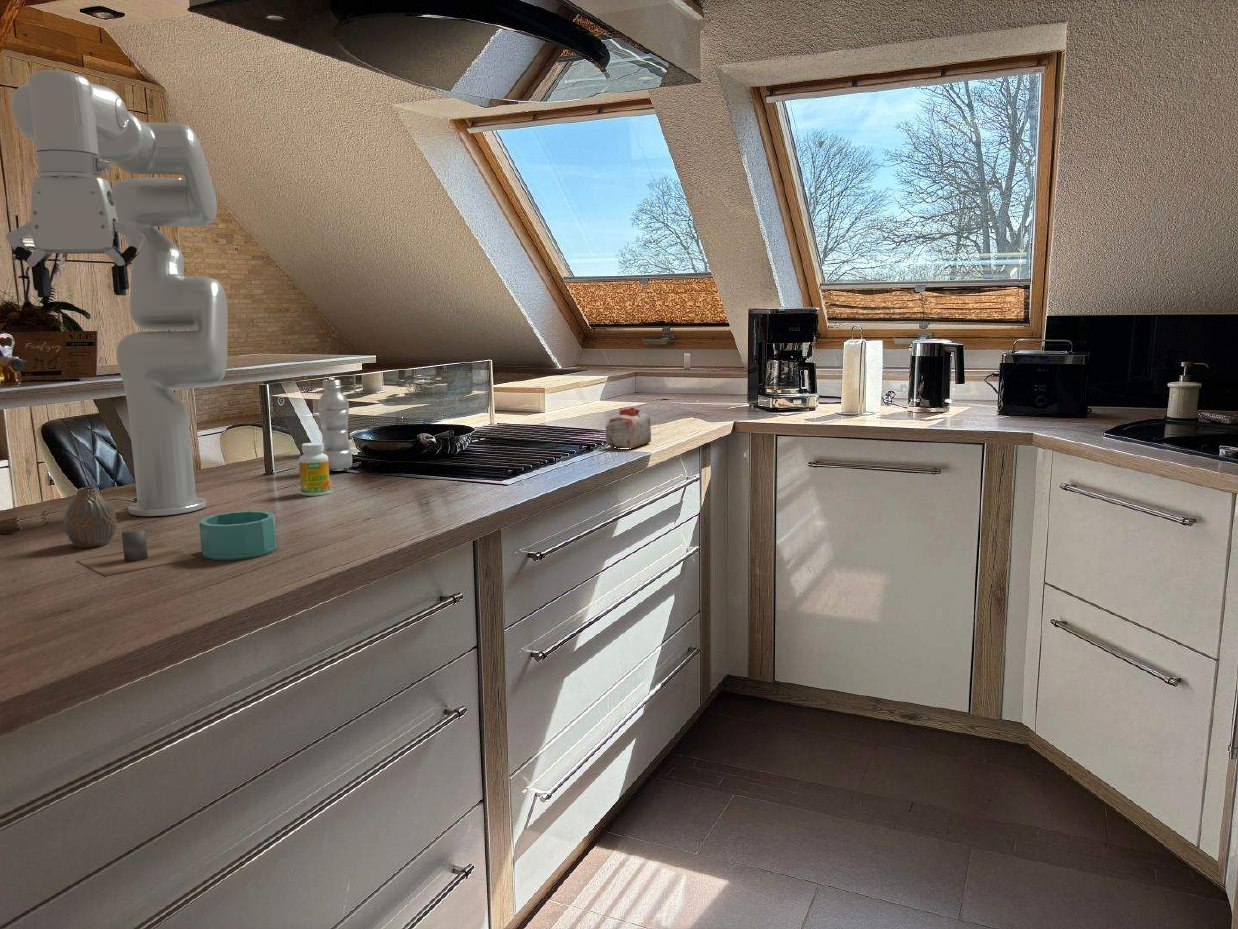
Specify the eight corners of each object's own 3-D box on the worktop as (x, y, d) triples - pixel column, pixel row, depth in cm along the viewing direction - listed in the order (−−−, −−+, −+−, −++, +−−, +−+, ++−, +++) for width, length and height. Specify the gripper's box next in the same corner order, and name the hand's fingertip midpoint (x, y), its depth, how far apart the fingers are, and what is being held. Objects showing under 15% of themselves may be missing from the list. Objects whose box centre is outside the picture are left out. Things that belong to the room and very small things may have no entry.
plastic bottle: (329, 469, 212) (323, 379, 209) (358, 469, 211) (352, 379, 208) (316, 474, 206) (309, 381, 202) (345, 474, 205) (339, 381, 201)
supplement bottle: (308, 497, 179) (304, 446, 178) (296, 493, 183) (293, 444, 182) (335, 493, 183) (331, 443, 181) (323, 490, 187) (319, 441, 185)
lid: (76, 565, 136) (73, 532, 135) (163, 549, 144) (160, 518, 143) (106, 581, 127) (102, 546, 126) (196, 563, 136) (193, 530, 135)
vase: (126, 538, 149) (121, 483, 147) (104, 549, 142) (98, 492, 140) (82, 539, 148) (75, 484, 147) (57, 551, 142) (50, 493, 140)
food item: (633, 451, 231) (632, 411, 229) (603, 450, 234) (602, 410, 232) (654, 443, 243) (653, 405, 241) (625, 442, 246) (624, 404, 245)
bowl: (191, 552, 139) (188, 519, 138) (257, 539, 146) (254, 508, 145) (221, 564, 132) (218, 529, 131) (288, 550, 139) (286, 517, 139)
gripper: (145, 173, 135) (156, 295, 138) (10, 171, 132) (25, 297, 135) (129, 165, 128) (142, 294, 131) (-13, 163, 125) (3, 296, 127)
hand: (82, 295), depth 133 cm, fingers open, 9 cm apart
